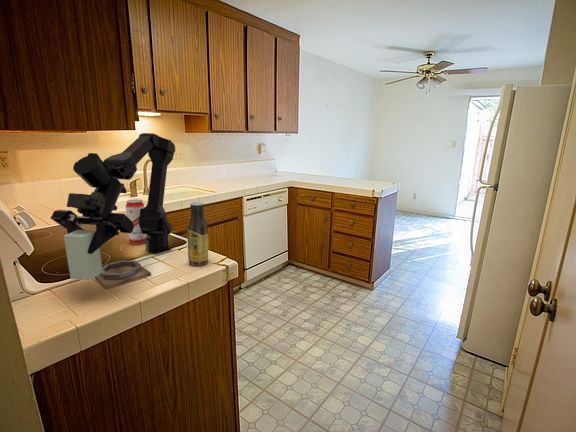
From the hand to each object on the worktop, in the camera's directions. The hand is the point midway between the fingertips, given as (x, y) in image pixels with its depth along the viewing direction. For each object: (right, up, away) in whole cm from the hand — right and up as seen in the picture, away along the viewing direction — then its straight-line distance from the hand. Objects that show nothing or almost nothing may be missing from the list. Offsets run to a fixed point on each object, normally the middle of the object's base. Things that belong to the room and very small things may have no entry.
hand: (79, 252), depth 74 cm
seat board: (+1, -9, +17) cm, 19 cm away
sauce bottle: (+21, -7, +27) cm, 35 cm away
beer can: (-6, -1, +43) cm, 44 cm away
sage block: (0, -6, +3) cm, 7 cm away
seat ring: (+1, -9, +17) cm, 19 cm away
